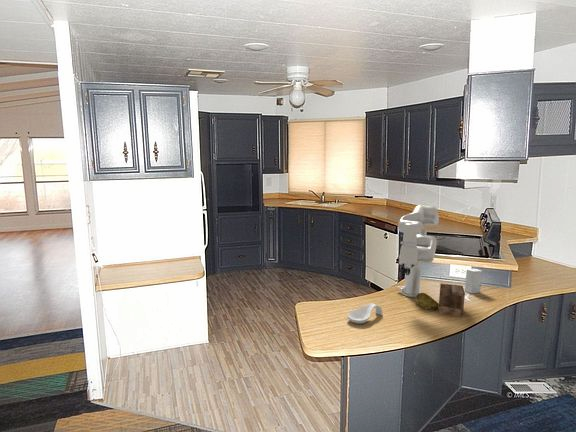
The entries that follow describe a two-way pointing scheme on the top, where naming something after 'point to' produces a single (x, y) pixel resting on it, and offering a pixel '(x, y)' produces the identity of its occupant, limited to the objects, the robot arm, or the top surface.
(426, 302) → the potato
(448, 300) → the cubby
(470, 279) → the skincare box
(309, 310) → the top surface
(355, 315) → the spoon rest
